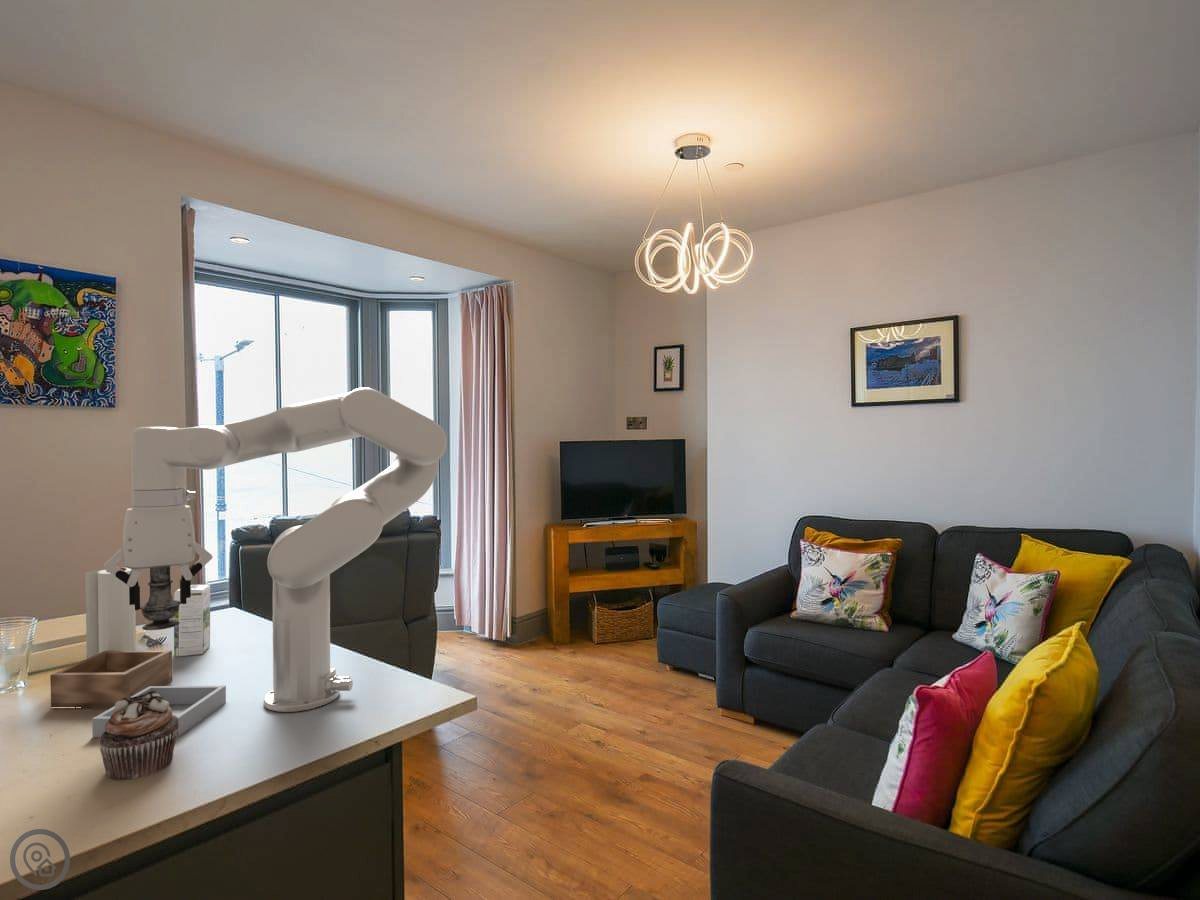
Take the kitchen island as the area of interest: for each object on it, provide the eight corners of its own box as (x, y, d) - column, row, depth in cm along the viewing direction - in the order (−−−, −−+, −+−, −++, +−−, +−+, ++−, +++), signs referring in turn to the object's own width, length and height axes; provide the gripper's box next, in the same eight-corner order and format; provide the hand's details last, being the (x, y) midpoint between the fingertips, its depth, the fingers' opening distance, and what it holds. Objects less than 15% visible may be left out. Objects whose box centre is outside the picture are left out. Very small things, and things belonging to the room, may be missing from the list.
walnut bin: (172, 680, 128) (172, 650, 128) (125, 708, 115) (125, 674, 115) (105, 681, 128) (105, 650, 128) (50, 708, 115) (50, 674, 115)
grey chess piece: (161, 631, 108) (159, 559, 107) (131, 629, 109) (129, 558, 108) (189, 621, 113) (188, 552, 113) (161, 620, 114) (159, 551, 114)
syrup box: (181, 649, 148) (180, 585, 147) (211, 646, 149) (210, 583, 149) (173, 657, 142) (172, 591, 142) (204, 654, 144) (203, 589, 144)
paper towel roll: (143, 671, 134) (142, 567, 133) (115, 681, 128) (113, 573, 127) (116, 668, 135) (114, 565, 135) (86, 678, 130) (85, 571, 129)
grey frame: (225, 702, 118) (225, 685, 118) (178, 736, 104) (178, 717, 104) (149, 702, 118) (149, 686, 118) (92, 737, 104) (92, 718, 104)
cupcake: (86, 771, 93) (84, 702, 93) (159, 744, 102) (158, 680, 102) (118, 790, 89) (117, 717, 88) (193, 759, 97) (192, 693, 97)
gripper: (215, 495, 119) (216, 594, 119) (95, 500, 108) (97, 608, 109) (220, 498, 113) (221, 602, 113) (94, 504, 102) (96, 619, 103)
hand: (160, 604), depth 111 cm, fingers closed on grey chess piece, 5 cm apart
